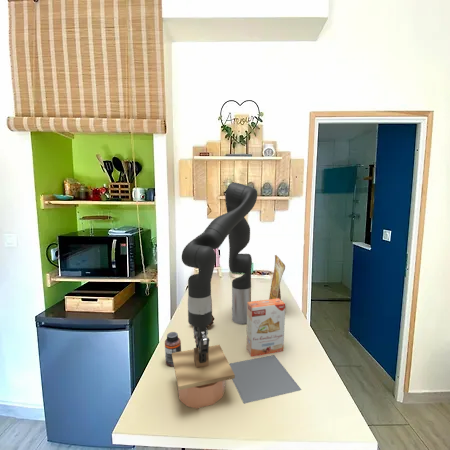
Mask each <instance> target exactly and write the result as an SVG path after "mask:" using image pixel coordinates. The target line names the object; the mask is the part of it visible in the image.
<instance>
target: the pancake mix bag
mask: <svg viewBox="0 0 450 450" xmlns="http://www.w3.org/2000/svg"><path fill="white" fill-rule="evenodd" d="M285 269H286V265H285V263H284V262H283V261H282V260H281V258H280V257H279V256H278V255H277V254H274V267H273V274H272V279H271V285H270V290H269V291H270V292H269V296H268V300H269V299H277V298H279V299H280V300H281V301H282V295H281V280H282V278H283V275H284V272H285Z"/></svg>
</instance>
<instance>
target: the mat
mask: <svg viewBox="0 0 450 450" xmlns="http://www.w3.org/2000/svg"><path fill="white" fill-rule="evenodd" d="M229 364H230V366H231V368H232V370H233V372H234V374H235V378H234V379H231V380H232V382H233V384H234V386H235V389H236V390H237V392H238V394H239V397H240V399H241V401H242V403H243V404H248V403H254V402H257V401H260V400H265V399H269V398H274V397H278V396H283V395H286V394H290V393H295V392H299V391H302V388H301V387H300V386H299V384H298V382H296V381H295V379H294V378H293V377H292V375H291V373H289V372H288V371H287V369H286V368H285V367H284V365H283V364H282V363H281V362H280V360H279V359H278V357H277V356H276V355H275V354H271V355H266V356H261V357H257V358H251V359H246V360H240V361H235V362H231V363H229Z"/></svg>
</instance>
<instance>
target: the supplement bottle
mask: <svg viewBox="0 0 450 450" xmlns="http://www.w3.org/2000/svg"><path fill="white" fill-rule="evenodd" d="M181 351H182V342H181V339H180V337H179V335H178V333H177V332H176V331H171V332H169V333H167V334H166V339H165V341H164V355H165V364H166V365H167V366H168V367H174V364H173V359H172V353H175V352H181Z"/></svg>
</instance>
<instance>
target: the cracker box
mask: <svg viewBox="0 0 450 450" xmlns="http://www.w3.org/2000/svg"><path fill="white" fill-rule="evenodd" d="M285 319H286V303H284V301H283V300H282V299H281V300H280V299H279V298H277V299H269V298H268V299H260V300H253V301H252V300H251V302H247V323H246V350H247V351H246V352H248V354H249V356H250V357H251V358H252V357H257V356H259V357H260V356H263V355H268V354H274V353H280V352H284V349H285V348H284V347H285V346H284V343H285V324H286V323H285V321H286V320H285Z"/></svg>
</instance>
